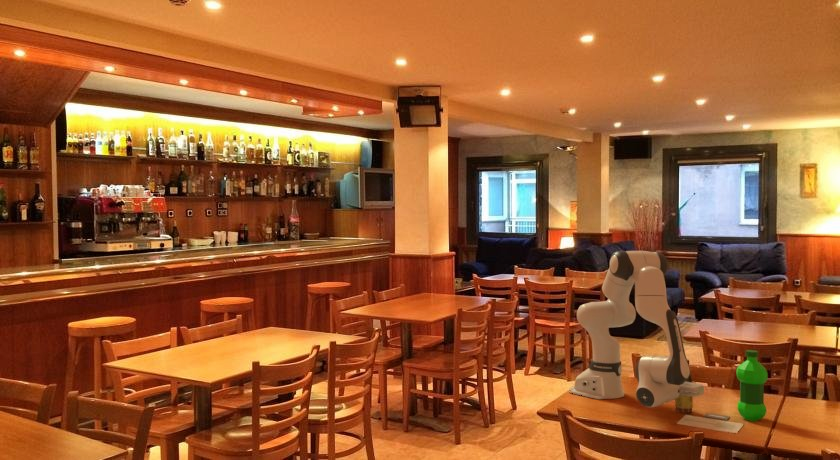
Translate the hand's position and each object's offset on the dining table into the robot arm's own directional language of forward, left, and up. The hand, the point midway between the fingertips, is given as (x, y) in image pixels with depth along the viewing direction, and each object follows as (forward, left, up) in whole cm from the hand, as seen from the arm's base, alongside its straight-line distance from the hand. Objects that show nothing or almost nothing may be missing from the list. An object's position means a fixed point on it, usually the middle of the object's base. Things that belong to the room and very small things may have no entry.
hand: (684, 382), depth 264 cm
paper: (+12, -12, -11) cm, 20 cm away
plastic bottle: (+23, +3, -11) cm, 26 cm away
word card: (+12, -2, -11) cm, 16 cm away
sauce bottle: (0, -1, -11) cm, 11 cm away
